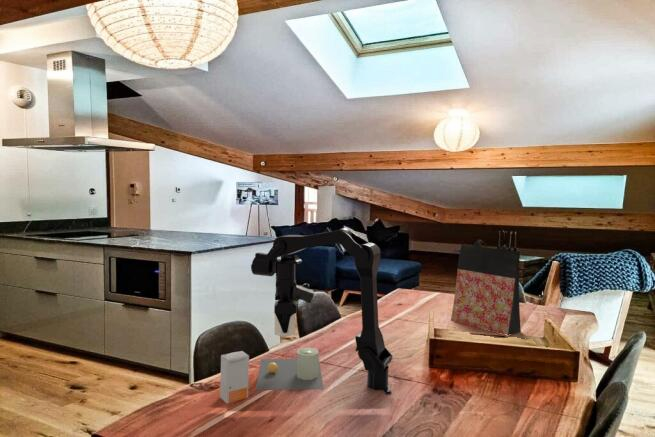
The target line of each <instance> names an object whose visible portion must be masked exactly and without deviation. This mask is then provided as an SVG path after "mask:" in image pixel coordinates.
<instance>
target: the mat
mask: <svg viewBox="0 0 655 437" xmlns="http://www.w3.org/2000/svg"><path fill="white" fill-rule="evenodd" d="M272 362H273V363H276V364H277V366H278V370H277V372H275V373H270V372H269V371H268V369H267V367H268V365H269V364H270V363H272ZM323 383H324V382H323V379H322V370H321V364H320V360H319V361H318V377H317V378H315V379H313V380H302V379H300V378H297V358H261V359H260V364H259V369H258V375H257V381H256V385H255V391H276V390H277V391H283V390H284V391H285V390H286V391H287V390H288V391H290V390H292V391H293V390H295V391H297V390H299V391H300V390H302V391H303V390H324V384H323Z"/></svg>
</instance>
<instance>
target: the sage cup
mask: <svg viewBox="0 0 655 437" xmlns="http://www.w3.org/2000/svg"><path fill="white" fill-rule="evenodd" d="M296 353H297V354H296V355H297V356H296V357H297V358H296V359H297V378H300V379H302V380H313V379H315V378H317V377H318V361H319V362H320V358H319V355H320V354H319V349H316V348H313V347H302V348H299V349H297V350H296Z"/></svg>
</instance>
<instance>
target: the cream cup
mask: <svg viewBox="0 0 655 437" xmlns="http://www.w3.org/2000/svg"><path fill="white" fill-rule="evenodd" d="M295 334H296V313H295V314H293V315H292V316H291V317H290V322H289V326H288V331H287V333H283V331H282V329H281V326H280V324H279V321H278V319H277V316H276V314H275V313H274V335H275V336H278V337H290V336H294V335H295Z"/></svg>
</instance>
